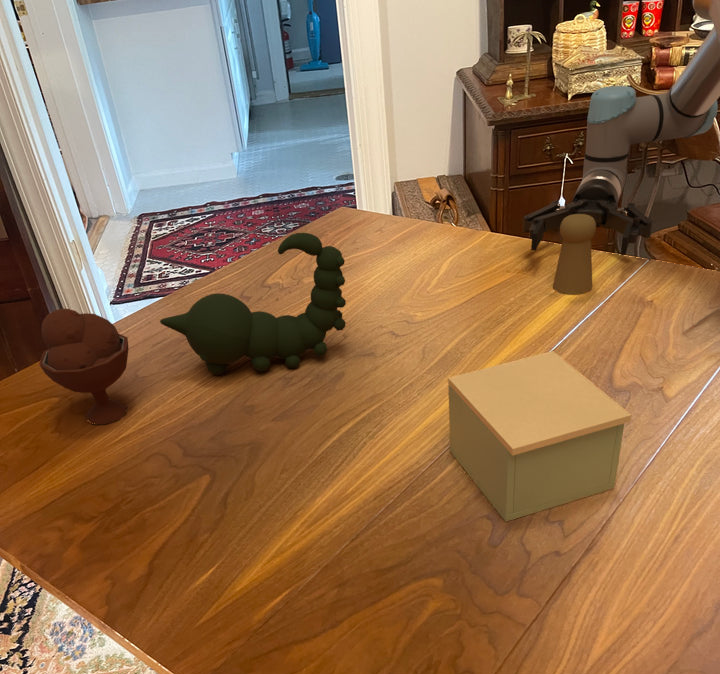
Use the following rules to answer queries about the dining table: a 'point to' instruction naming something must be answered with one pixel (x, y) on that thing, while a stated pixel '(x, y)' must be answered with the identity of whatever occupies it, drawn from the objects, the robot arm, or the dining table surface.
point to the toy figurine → (267, 318)
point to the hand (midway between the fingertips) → (578, 244)
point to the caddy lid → (537, 402)
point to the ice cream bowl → (85, 358)
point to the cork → (575, 255)
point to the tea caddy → (532, 465)
